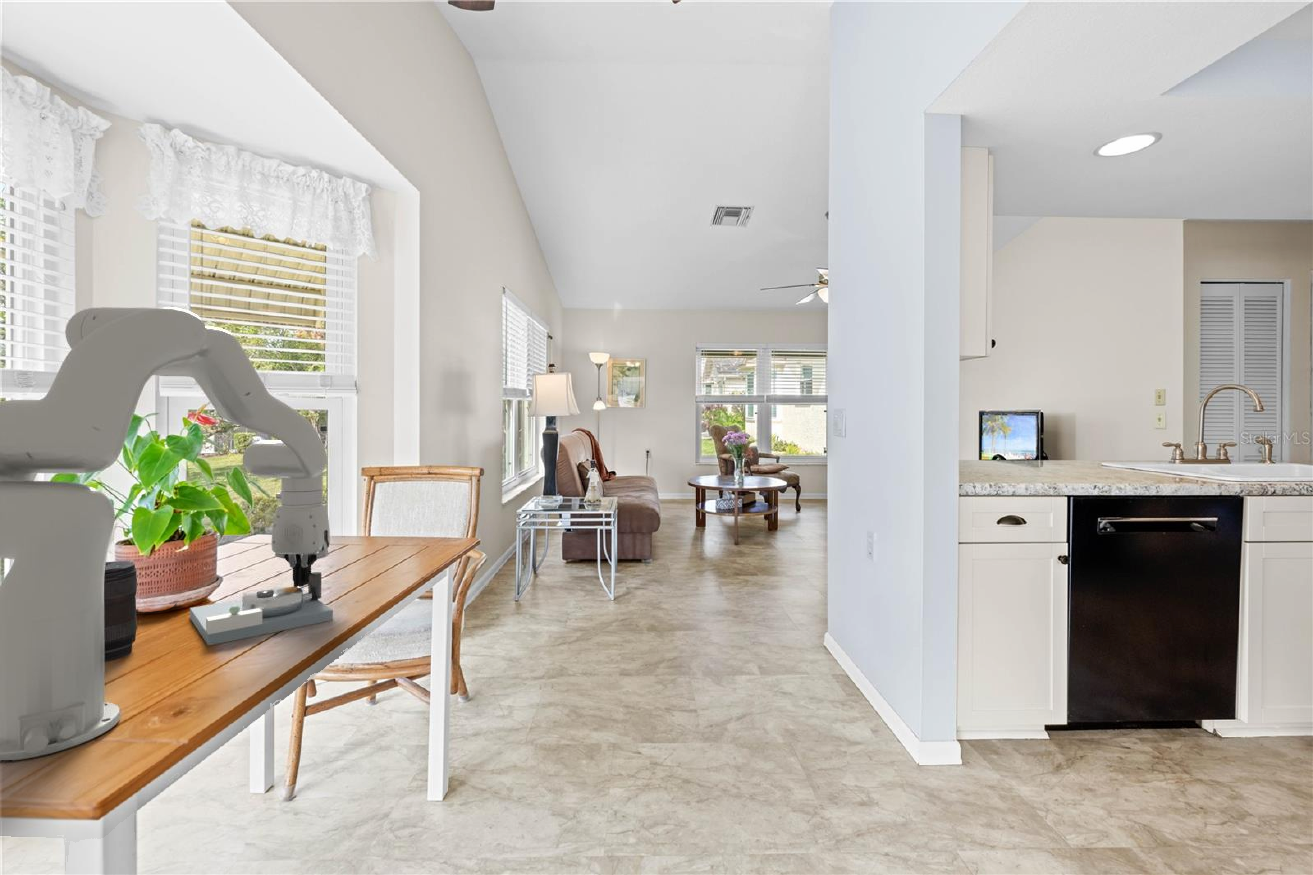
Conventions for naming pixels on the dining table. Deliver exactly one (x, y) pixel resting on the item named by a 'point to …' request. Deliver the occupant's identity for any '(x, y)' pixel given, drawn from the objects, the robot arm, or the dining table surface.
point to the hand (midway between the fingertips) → (301, 584)
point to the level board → (268, 622)
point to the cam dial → (282, 597)
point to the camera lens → (119, 608)
